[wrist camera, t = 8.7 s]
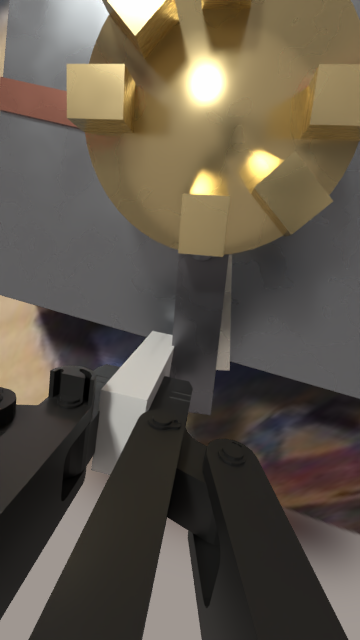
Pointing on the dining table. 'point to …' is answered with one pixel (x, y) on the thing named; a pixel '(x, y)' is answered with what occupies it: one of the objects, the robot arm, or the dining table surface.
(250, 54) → the studded gold disc
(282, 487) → the dining table surface
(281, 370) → the housing
